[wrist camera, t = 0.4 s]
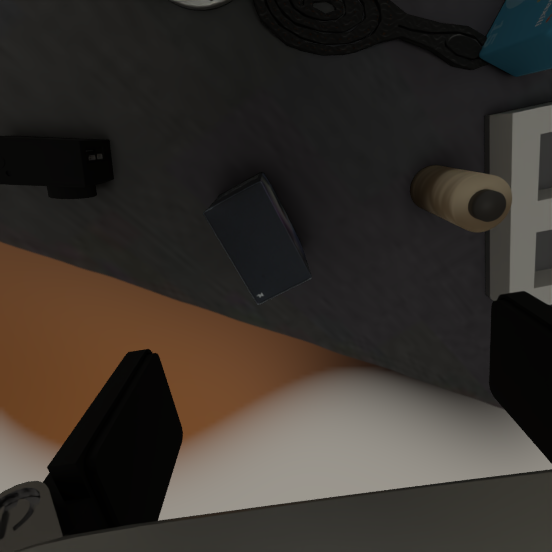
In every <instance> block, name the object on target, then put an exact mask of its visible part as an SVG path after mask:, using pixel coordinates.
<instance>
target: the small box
mask: <svg viewBox="0 0 552 552" xmlns="http://www.w3.org/2000/svg"><path fill="white" fill-rule="evenodd" d="M203 215H204V216H205V218H206V220H207V221H208V223H209V225H210V226H211V228H212V230H213V231H214V233H215V235H216V236H217V238H218V240H219V241H220V243H221V245H222V246H223V248H224V250H225V251H226V253H227V255H228V257H229V258H230V260H231V262H232V263H233V265H234V266H235V268H236V270H237V271H238V273H239V275H240V276H241V278H242V280H243V281H244V283H245V285H246V287H247V288H248V290H249V291H250V293H251V295H252V296H253V298H254V300H255V301H256V303H257V304H262V303H264V302H265V301H267V300H269V299H271V298H273V297H275V296H278V295H280V294H281V293H283V292H285V291H288V290H289V289H292V288H293V287H296V286H297V285H299V284H302V283H303V282H305V281H308V280H309V279H311V278H312V276H311V273H310V270H309V267H308V263H307V260H306V257H305V254H304V251H303V248H302V245H301V243H300V240H299V238H298V236H297V234H296V232H295V230H294V228H293V226H292V224H291V222H290V220H289V218H288V216H287V214H286V212H285V210H284V208H283V207H282V205H281V203H280V201H279V199H278V197H277V195H276V194H275V192H274V190H273V188H272V186H271V184H270V183H269V181H268V179H267V178H266V176H265V174H264V173H263V172H261V173H259V174H257V175H255V176H253V177H252V178H250V179H248V180H246V181H244V182H242V183H241V184H239V185H237V186H235V187H233V188H231V189H230V190H228V191H226V192H224V193H222V194H220V195H219V196H218V198H217V199H216V200H215V202H213V204H212V205H211V206H210V207H209V208H208V209H207V210H206V211H204V212H203Z"/></svg>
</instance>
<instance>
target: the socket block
mask: <svg viewBox="0 0 552 552" xmlns="http://www.w3.org/2000/svg"><path fill="white" fill-rule="evenodd" d="M484 126H485V174H490V175H495V176H498V177H500V178H502V179H504V180H505V181H506V182H507V183H508V185H509V187H510V189H511V192H512V204H511V207H510V210H509V212H508V214H507V216H506V217H505V218H504V220H503V221H502V222H501V223H500V224H498V225H497V226H496V227H494V228H492V229H490V230H487V231H485V263H486V295H487V296H488V297H489V298H491V299H492V300H494V301H496V300H497V299H498V296H499V295H501V294H507V293H513V292H520V291H525V292H527V293H529V294H531V295H533V296H534V297H536V298H538V299H539V300H541V301H543V302H544V303H546V304H548V305H550V304H552V101H551V102H547V103H542V104H537V105H533V106H528V107H524V108H519V109H514V110H510V111H505V112H501V113H496V114H492V115H487V116H484Z"/></svg>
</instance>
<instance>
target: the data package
mask: <svg viewBox="0 0 552 552" xmlns="http://www.w3.org/2000/svg"><path fill="white" fill-rule="evenodd" d="M486 37H487V40H486V42H485V44H484V46H482V49H481V51H480V53H479V57H480V58H481V59H483V60H485V61H486V62H488V63H490V64H492V65H494V66H496V67H498V68H499V69H501V70H503V71H505V72H507V73H509V74H511V75H513V76H515V77H518V76H522V75H526V74H530V73H535V72H539V71H543V70H547V69H551V68H552V0H506V1H505V3H504V4H503V6H502V8H501V10H500V12H499V14H498V16H497V17H496V19H495V21H494V23H493V25H492V27H491V29H490V31H489V32H488V34H487V36H486Z"/></svg>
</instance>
